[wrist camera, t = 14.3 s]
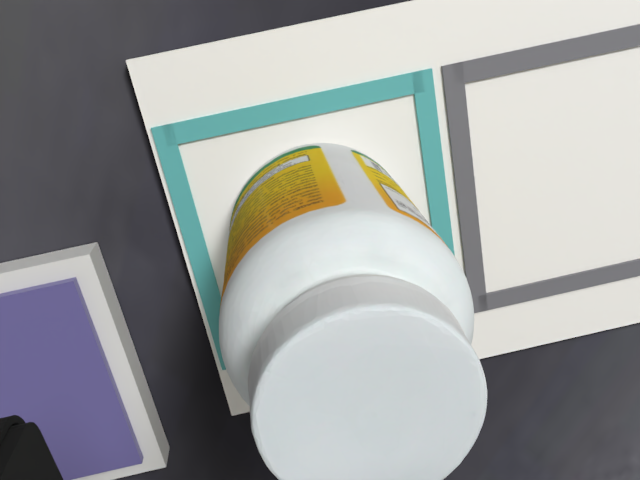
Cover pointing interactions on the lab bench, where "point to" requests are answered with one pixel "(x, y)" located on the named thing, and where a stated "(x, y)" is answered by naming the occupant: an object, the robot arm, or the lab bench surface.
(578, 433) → the lab bench surface
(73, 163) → the lab bench surface
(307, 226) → the supplement bottle
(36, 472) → the robot arm
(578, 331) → the print sheet
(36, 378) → the ink pad
